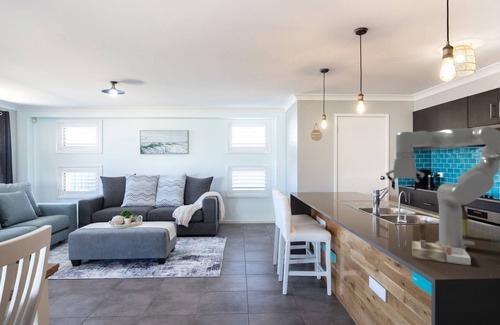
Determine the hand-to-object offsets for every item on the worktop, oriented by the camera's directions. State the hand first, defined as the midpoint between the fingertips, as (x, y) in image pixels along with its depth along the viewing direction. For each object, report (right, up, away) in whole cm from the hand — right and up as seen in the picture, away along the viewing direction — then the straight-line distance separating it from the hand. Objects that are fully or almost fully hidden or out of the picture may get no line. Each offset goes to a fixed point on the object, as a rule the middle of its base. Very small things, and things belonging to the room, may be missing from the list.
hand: (404, 189), depth 143 cm
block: (+8, -25, -19) cm, 33 cm away
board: (+2, -28, -16) cm, 32 cm away
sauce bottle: (+41, -28, +15) cm, 52 cm away
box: (+11, -28, -21) cm, 37 cm away
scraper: (0, -24, -15) cm, 28 cm away
